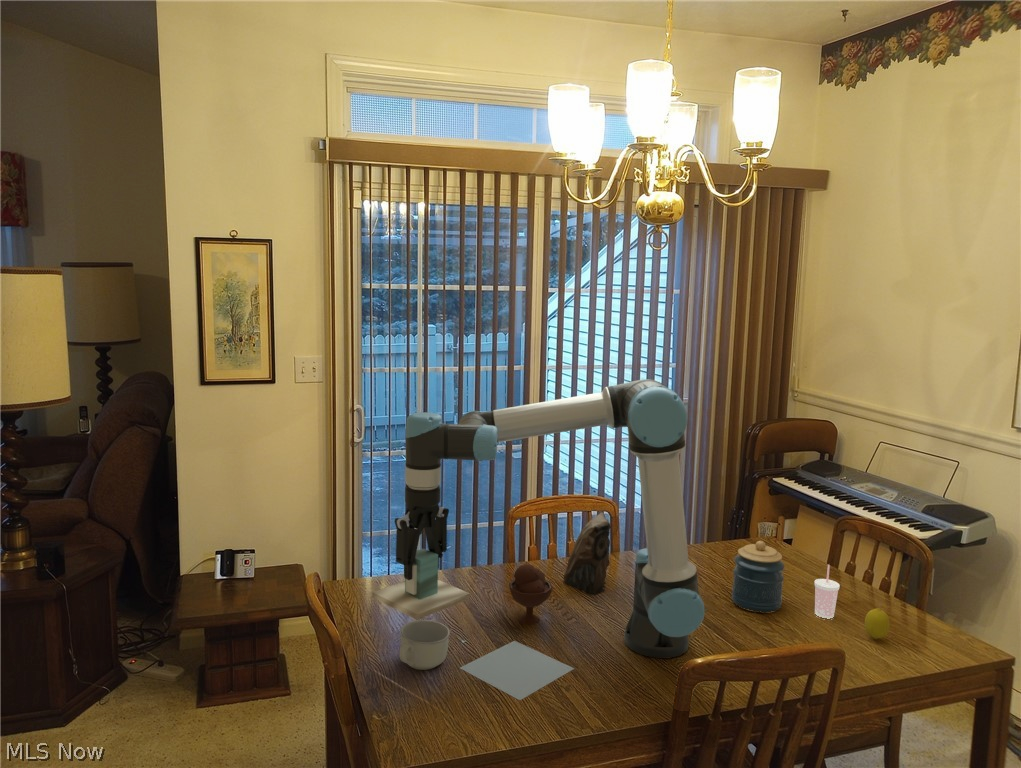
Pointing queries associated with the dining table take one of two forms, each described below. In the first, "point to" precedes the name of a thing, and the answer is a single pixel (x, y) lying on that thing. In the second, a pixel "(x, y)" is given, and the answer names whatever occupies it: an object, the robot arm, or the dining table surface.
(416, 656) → the teacup
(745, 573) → the canister
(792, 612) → the dining table surface
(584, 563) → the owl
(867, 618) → the lemon
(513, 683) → the mat
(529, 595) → the ice cream bowl
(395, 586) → the lid
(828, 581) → the beverage cup
